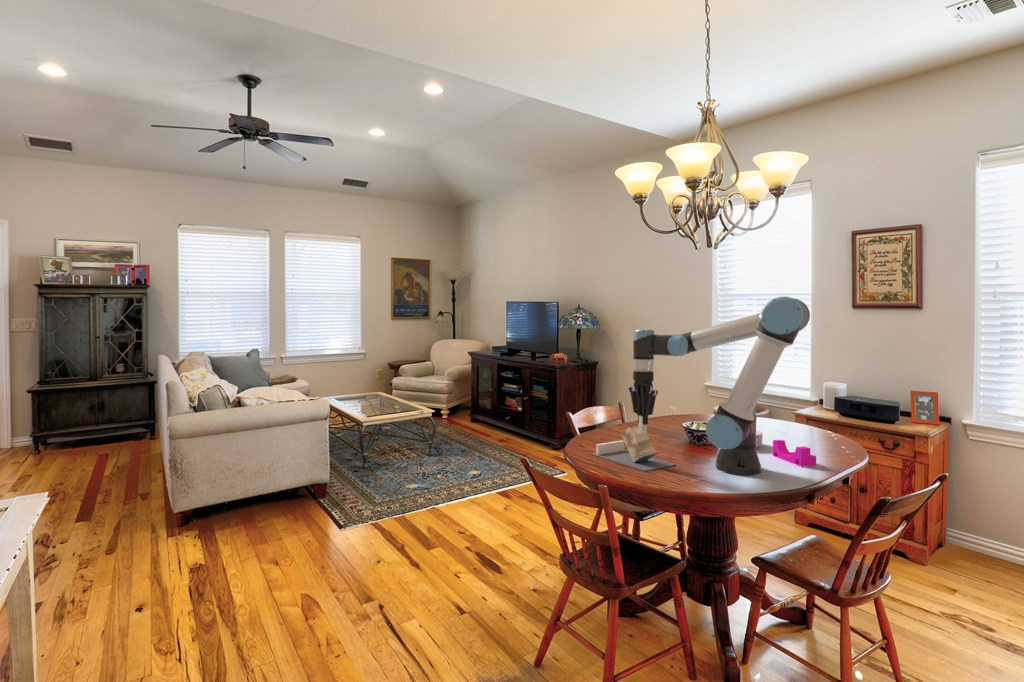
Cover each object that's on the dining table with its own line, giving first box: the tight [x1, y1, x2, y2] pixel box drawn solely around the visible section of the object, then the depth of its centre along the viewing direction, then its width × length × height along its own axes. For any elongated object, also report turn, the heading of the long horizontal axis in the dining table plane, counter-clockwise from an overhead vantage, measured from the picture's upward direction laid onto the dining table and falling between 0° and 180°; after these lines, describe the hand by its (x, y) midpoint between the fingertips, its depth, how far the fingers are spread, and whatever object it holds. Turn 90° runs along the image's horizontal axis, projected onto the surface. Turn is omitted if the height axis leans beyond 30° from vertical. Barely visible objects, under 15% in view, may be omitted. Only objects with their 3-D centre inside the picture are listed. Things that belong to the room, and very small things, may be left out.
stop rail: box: [595, 440, 625, 455], centre depth 215 cm, size 1×14×4 cm, turn 121°
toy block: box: [772, 439, 817, 468], centre depth 200 cm, size 15×6×8 cm, turn 12°
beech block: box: [620, 425, 657, 463], centre depth 202 cm, size 6×7×12 cm
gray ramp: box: [589, 449, 677, 472], centre depth 205 cm, size 30×16×1 cm, turn 31°
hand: (642, 432), depth 200 cm, fingers closed
